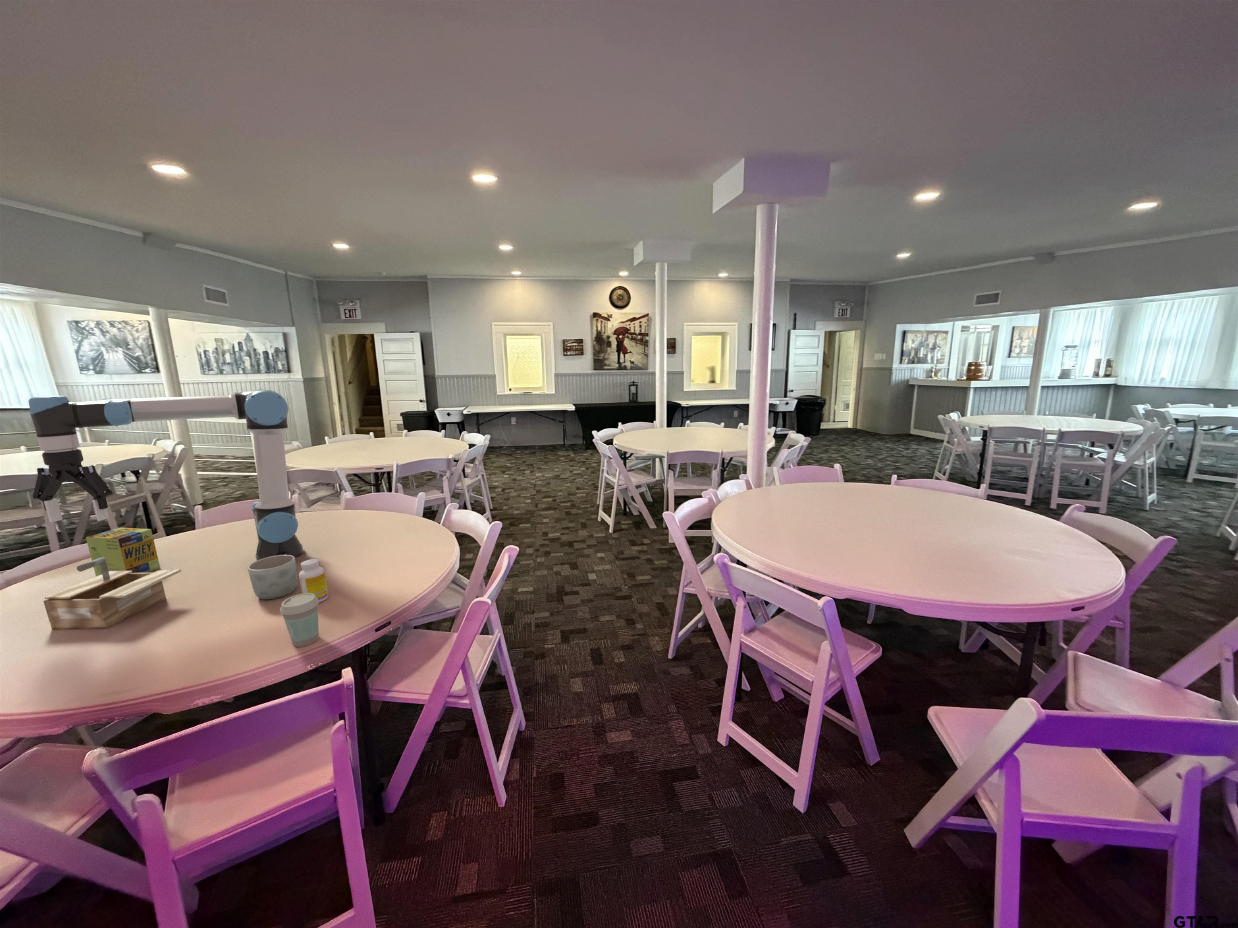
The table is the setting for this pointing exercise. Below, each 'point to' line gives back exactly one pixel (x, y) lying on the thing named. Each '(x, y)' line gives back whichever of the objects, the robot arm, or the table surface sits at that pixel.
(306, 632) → the coffee cup
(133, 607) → the light wood open box
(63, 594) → the open flap
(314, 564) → the supplement bottle
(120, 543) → the protein box
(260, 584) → the planter
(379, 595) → the table surface
